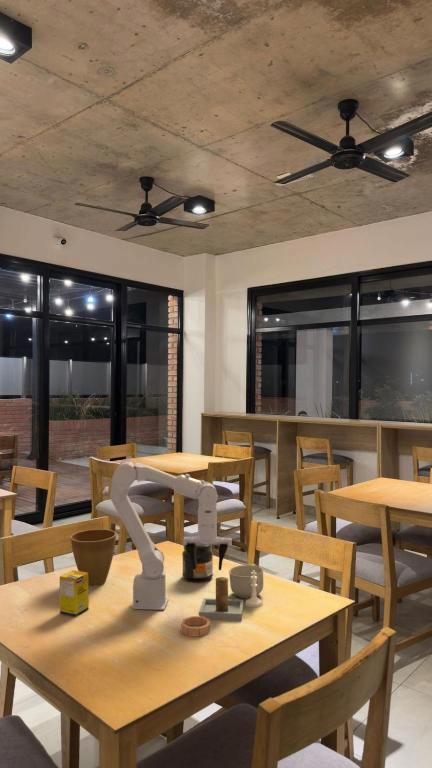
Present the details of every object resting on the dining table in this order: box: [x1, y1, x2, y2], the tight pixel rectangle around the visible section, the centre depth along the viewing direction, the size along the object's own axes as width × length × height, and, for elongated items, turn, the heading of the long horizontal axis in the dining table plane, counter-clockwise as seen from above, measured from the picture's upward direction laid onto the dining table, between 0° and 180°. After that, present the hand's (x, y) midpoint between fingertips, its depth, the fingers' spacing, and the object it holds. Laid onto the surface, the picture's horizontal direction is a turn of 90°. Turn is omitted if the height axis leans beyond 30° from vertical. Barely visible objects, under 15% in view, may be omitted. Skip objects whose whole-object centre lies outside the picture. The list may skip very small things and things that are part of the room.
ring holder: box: [180, 615, 211, 637], centre depth 147 cm, size 8×8×2 cm
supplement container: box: [181, 545, 214, 583], centre depth 186 cm, size 10×10×12 cm
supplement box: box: [59, 569, 90, 617], centre depth 158 cm, size 6×6×11 cm
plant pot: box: [70, 528, 117, 587], centre depth 182 cm, size 15×15×16 cm
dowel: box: [215, 576, 229, 612], centre depth 158 cm, size 4×4×9 cm
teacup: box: [228, 563, 264, 600], centre depth 172 cm, size 14×11×8 cm
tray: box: [198, 597, 245, 621], centre depth 158 cm, size 12×10×2 cm
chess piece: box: [245, 570, 263, 608], centre depth 164 cm, size 5×5×10 cm
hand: (207, 568), depth 164 cm, fingers open, 7 cm apart
